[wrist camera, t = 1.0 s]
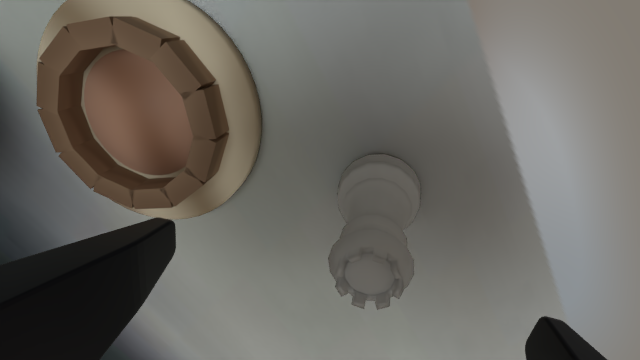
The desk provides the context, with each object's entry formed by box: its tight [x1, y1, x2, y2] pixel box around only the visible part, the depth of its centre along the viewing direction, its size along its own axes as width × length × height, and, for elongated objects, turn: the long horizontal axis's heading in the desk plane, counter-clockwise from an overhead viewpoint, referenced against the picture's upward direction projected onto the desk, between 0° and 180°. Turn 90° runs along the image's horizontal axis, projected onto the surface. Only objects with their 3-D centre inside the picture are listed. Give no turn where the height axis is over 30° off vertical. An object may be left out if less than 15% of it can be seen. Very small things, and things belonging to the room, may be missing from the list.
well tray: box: [37, 0, 262, 219], centre depth 20 cm, size 13×13×3 cm
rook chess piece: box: [328, 154, 421, 310], centre depth 17 cm, size 4×4×8 cm
